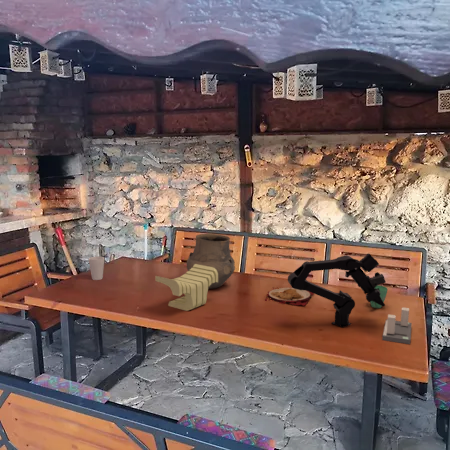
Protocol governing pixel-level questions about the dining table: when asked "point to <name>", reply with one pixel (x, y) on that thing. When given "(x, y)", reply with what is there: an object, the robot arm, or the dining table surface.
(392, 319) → the block
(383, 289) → the mug
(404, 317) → the switch tab
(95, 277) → the foam cup
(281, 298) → the plate with food
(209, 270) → the slatted curved stool
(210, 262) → the ceramic pot
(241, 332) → the dining table surface
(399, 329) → the switch block
